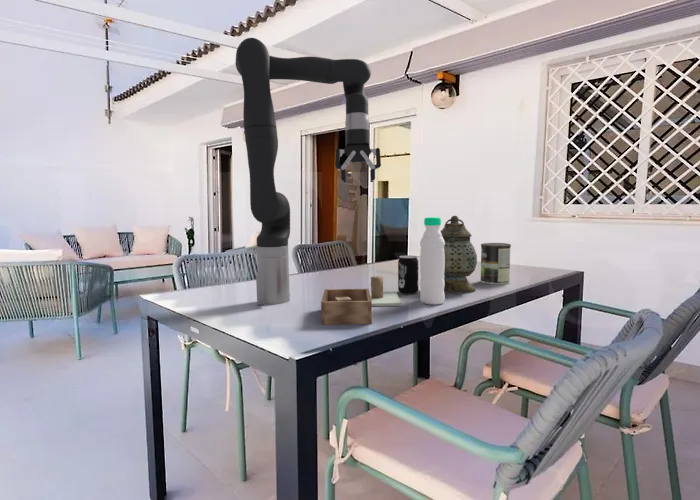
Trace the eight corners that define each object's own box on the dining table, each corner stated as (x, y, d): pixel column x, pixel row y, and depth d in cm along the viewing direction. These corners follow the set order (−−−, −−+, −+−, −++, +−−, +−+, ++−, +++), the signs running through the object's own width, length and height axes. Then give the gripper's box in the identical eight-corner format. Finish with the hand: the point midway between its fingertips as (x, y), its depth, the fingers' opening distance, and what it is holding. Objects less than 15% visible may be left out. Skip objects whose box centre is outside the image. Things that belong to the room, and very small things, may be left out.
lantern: (485, 290, 141) (486, 215, 139) (456, 296, 133) (456, 216, 131) (453, 284, 153) (453, 214, 150) (424, 289, 145) (424, 215, 142)
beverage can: (417, 294, 136) (417, 257, 135) (397, 294, 138) (397, 257, 136) (418, 290, 143) (418, 255, 142) (399, 290, 144) (399, 255, 143)
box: (321, 327, 101) (320, 302, 101) (325, 310, 117) (324, 289, 117) (371, 326, 101) (371, 301, 101) (368, 310, 117) (368, 288, 117)
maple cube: (338, 313, 112) (338, 300, 111) (335, 310, 115) (334, 297, 115) (351, 312, 113) (351, 299, 112) (348, 309, 116) (347, 296, 116)
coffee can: (482, 284, 152) (483, 245, 150) (478, 279, 162) (478, 242, 160) (513, 285, 150) (514, 245, 149) (506, 280, 160) (507, 242, 159)
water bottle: (439, 306, 120) (439, 217, 118) (416, 303, 124) (416, 217, 122) (447, 301, 126) (448, 216, 124) (425, 298, 130) (425, 217, 128)
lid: (356, 310, 119) (356, 282, 118) (355, 297, 136) (355, 273, 135) (401, 309, 119) (401, 281, 118) (395, 296, 136) (395, 272, 135)
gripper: (334, 127, 129) (335, 181, 131) (381, 127, 129) (381, 181, 131) (335, 132, 137) (336, 183, 138) (379, 131, 137) (380, 182, 138)
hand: (358, 182), depth 135 cm, fingers open, 8 cm apart
